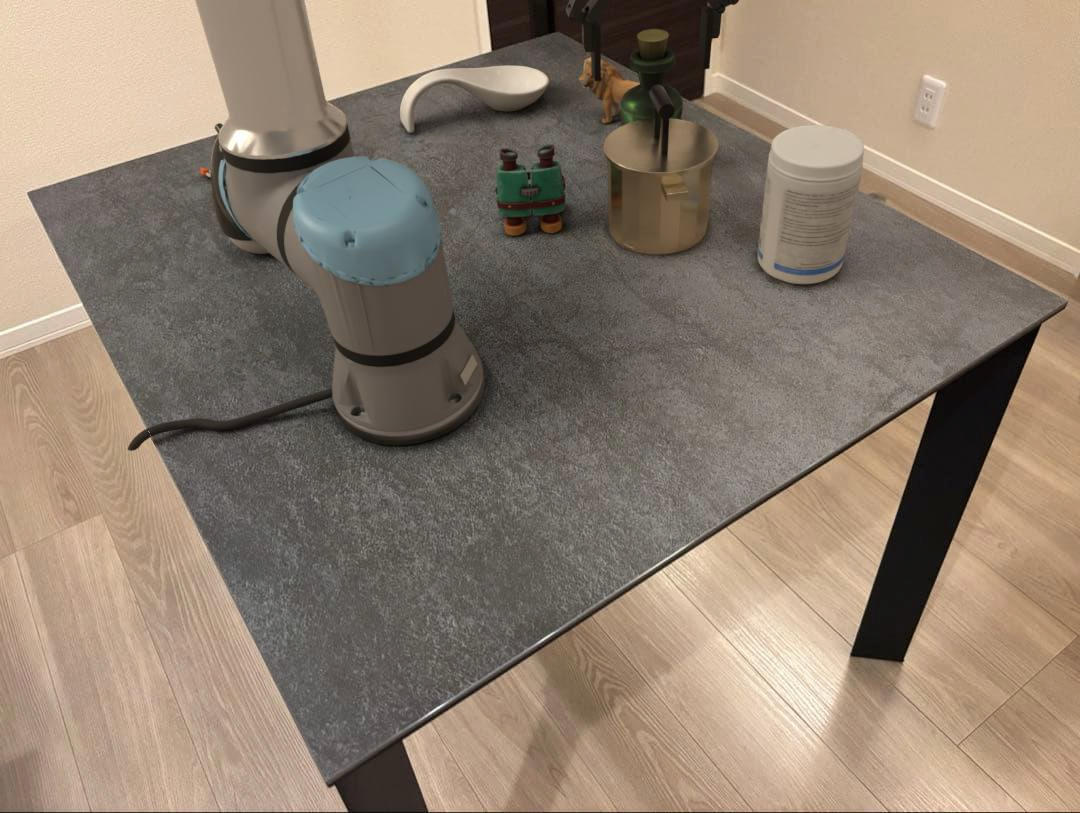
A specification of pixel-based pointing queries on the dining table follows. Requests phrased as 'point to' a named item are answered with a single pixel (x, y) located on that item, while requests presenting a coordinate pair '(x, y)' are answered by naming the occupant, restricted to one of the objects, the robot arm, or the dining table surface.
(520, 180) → the toy field glasses
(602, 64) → the lion figurine
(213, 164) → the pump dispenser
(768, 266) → the supplement tub
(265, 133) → the robot arm
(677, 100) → the potion bottle
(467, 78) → the spoon rest
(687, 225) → the pot
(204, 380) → the dining table surface
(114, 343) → the dining table surface
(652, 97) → the pot lid
